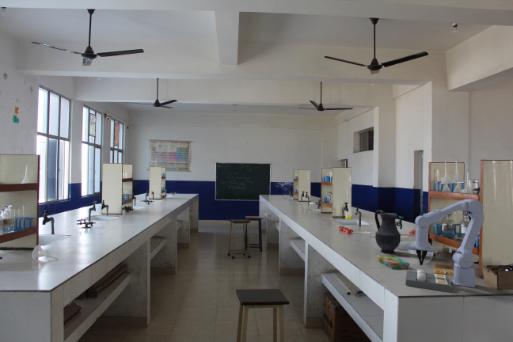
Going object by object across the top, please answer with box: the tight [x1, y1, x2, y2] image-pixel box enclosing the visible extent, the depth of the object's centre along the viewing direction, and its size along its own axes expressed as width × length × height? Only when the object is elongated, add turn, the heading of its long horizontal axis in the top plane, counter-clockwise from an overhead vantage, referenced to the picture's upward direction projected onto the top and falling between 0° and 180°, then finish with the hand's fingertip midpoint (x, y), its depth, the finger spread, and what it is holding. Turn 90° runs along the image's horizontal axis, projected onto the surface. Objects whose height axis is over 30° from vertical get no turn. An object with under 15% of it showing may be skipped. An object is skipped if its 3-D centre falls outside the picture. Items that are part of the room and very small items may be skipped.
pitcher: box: [374, 209, 401, 255], centre depth 259 cm, size 17×21×30 cm
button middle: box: [416, 269, 427, 274], centre depth 183 cm, size 4×4×4 cm
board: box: [405, 270, 452, 293], centre depth 182 cm, size 20×20×4 cm
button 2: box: [417, 273, 426, 282], centre depth 177 cm, size 4×4×4 cm
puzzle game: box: [375, 254, 411, 270], centre depth 220 cm, size 12×5×20 cm
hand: (421, 264), depth 186 cm, fingers closed
